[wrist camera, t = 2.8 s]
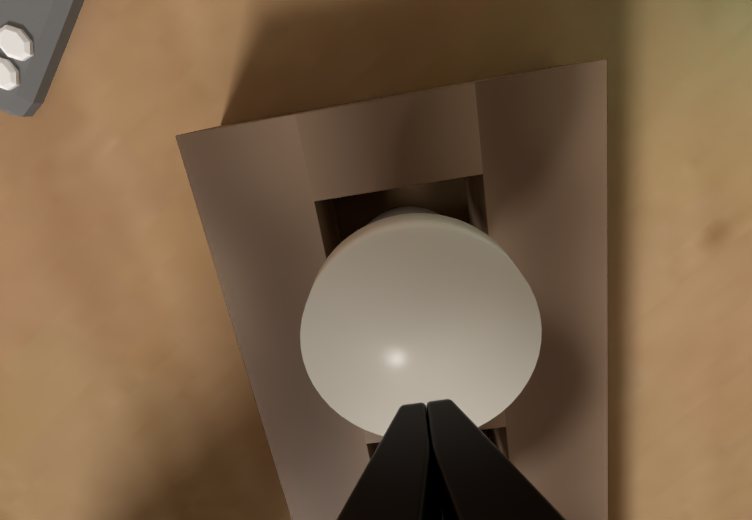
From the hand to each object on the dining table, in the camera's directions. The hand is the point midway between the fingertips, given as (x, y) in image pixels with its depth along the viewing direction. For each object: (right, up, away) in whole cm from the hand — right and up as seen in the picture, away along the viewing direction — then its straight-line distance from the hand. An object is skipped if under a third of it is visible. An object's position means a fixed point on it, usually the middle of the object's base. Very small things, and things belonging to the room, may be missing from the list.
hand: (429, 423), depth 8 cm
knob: (0, +3, +7) cm, 8 cm away
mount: (+2, -5, +13) cm, 14 cm away
